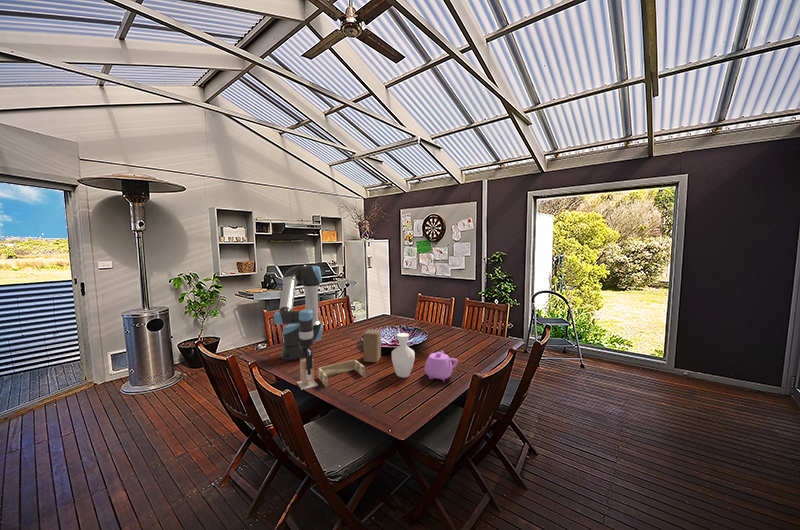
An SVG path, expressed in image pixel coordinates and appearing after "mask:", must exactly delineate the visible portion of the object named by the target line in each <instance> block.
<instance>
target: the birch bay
mask: <svg viewBox="0 0 800 530" xmlns="http://www.w3.org/2000/svg"><path fill="white" fill-rule="evenodd" d="M349 371H355V372H357V373H358V374H359V375H361V377H363V378H364V377H366V366H365V365H363V364H362V363H360V362H359V361H358V360H357V359H354V358H353V359H351V360H346V361H343V362H341V361H340V362H338V363H333V364H329V365H324V366H320V367H317V378H318V379H319V381H320V382H321V383H322V385H323V386H324V387H325V388H326V387H328V385H329V383H328V382H329V381H328V379H329V378H328V377H329V376H335V375H337V374H341V373H345V372H346V373H347V372H349Z"/></svg>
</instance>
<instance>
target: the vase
mask: <svg viewBox="0 0 800 530" xmlns="http://www.w3.org/2000/svg"><path fill="white" fill-rule="evenodd" d="M396 336H397V339H398V343H399V345H398V346H397V347H395V348H394V349H393V350H392V351H391V361H392V365H393V368H394V372H395V375H396V376H397V377H399V378H408V377H409V376H410V374H411V372H412V370H413V368H414V363H415V356H416V355H415V354H416V353H415V350H413V348H410V347H409V346H408V345H407V344H408V343H409V337H410V334H409V333H406V332H399V333H397V334H396Z"/></svg>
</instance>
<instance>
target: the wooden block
mask: <svg viewBox="0 0 800 530" xmlns="http://www.w3.org/2000/svg"><path fill="white" fill-rule="evenodd" d="M381 334H382V333H381V330H380V329H369V328H368V329H367V330H366V331H364V332H363V335H362V336H363V337H362V338H363V343H362V345H363V347H362V348H363V350H362V351H363V362H365V363H378V362H379V361H380V359H381V357H382V356H381V355H382V351H381V350H382V346H381V345H382V344H381V343H382V342H381V339H382V338H381V337H382V335H381Z"/></svg>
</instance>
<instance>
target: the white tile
mask: <svg viewBox="0 0 800 530" xmlns="http://www.w3.org/2000/svg"><path fill="white" fill-rule="evenodd" d="M296 383H297V385H298V387H299V389H300V390H301V391H303V389H304V390H307V389H311V388H315V387H318V385H319V384H318V383H317V382H316V381H315V380H314V381H310V382H306V383H303V382H302V381H301V380H300V381H296Z"/></svg>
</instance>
